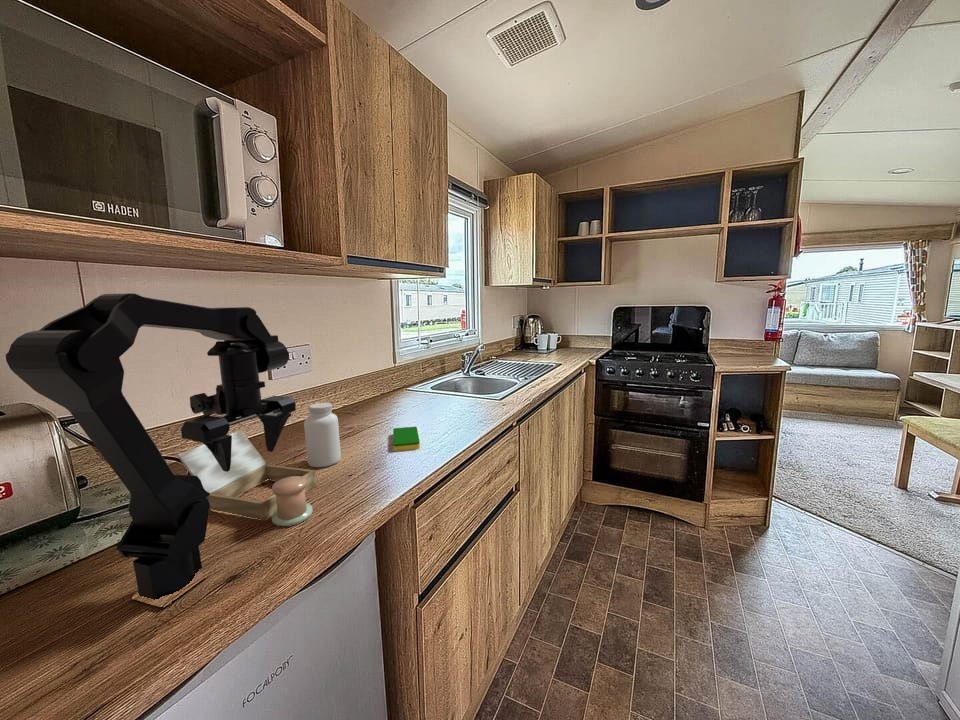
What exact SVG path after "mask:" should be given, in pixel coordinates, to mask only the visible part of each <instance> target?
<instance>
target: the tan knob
mask: <svg viewBox="0 0 960 720" xmlns="http://www.w3.org/2000/svg"><path fill="white" fill-rule="evenodd" d="M306 485H307V483H306V478H304V477H301V476H292V477H287V478H284V479H281V480H279V481H274V483H273V484H272V486H271V489H272V493H273V495H274V494H275V495H276V504H277V513H278V518H279V519H282V520H290V519H294V518H297V517H300V516H301V515H303V514H304V513H305V512H306V511H307V507H306V503H307V499H306V497H307V496H306V493H305V487H306Z"/></svg>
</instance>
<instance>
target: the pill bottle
mask: <svg viewBox="0 0 960 720" xmlns="http://www.w3.org/2000/svg"><path fill="white" fill-rule="evenodd" d="M332 410H333V405H332V403H330V402H317V403H314V404H313V403H312V404H311V405H310V404H309V407H308V411H309V412H308V414H309V416H307V417H306V418H305V419H304V422H303V425H304V436H305V438H304V439H305V446H306V457H307V458H306V459H307V464H308V466H310V467H312V468H326V467H330V466H333V465H336V464H338V463H339V462H340V461H341V459H342V453H341V452H342V451H341V441H340V428H339V419H338V415H336V414H335V413H333V412H332Z"/></svg>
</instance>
